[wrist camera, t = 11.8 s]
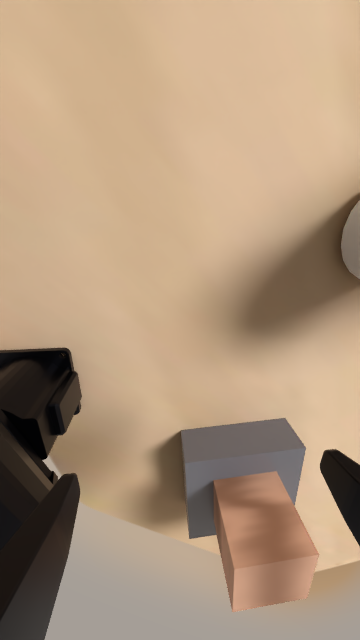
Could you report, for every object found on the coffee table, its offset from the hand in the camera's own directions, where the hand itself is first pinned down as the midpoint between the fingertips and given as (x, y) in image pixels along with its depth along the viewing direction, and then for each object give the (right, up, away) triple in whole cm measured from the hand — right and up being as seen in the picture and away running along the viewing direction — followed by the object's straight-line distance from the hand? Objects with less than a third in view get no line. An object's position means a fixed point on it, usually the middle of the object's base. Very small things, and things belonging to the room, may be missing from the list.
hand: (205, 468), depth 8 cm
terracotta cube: (+5, -12, +14) cm, 19 cm away
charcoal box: (+5, -10, +18) cm, 21 cm away
